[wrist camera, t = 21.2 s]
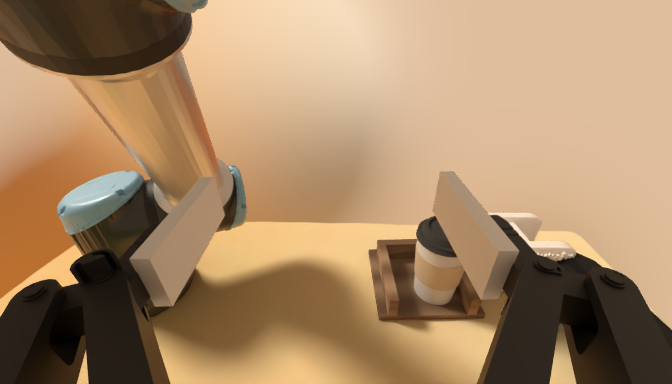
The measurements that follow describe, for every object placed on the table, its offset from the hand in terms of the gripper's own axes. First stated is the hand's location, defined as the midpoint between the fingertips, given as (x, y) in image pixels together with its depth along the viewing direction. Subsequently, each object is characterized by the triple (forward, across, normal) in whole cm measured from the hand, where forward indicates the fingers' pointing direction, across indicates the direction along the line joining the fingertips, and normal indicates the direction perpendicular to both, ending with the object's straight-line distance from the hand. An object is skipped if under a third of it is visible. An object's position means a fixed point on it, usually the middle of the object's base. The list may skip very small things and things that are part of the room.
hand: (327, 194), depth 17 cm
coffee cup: (+21, +18, -34) cm, 44 cm away
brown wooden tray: (+23, +16, -35) cm, 45 cm away
